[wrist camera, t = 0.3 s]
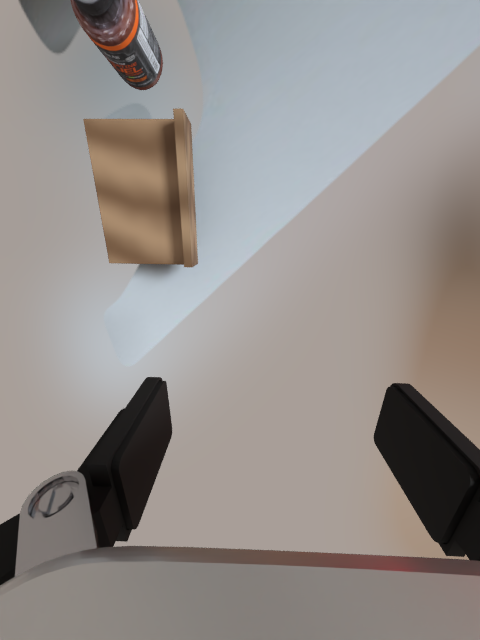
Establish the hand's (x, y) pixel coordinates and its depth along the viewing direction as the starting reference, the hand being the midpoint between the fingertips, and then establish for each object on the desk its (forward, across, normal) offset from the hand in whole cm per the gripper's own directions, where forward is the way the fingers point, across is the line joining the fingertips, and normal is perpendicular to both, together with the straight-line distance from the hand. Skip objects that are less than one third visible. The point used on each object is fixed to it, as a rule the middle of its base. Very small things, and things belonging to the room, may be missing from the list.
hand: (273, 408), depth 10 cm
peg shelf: (+30, +14, -11) cm, 35 cm away
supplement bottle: (+31, +15, -27) cm, 43 cm away
